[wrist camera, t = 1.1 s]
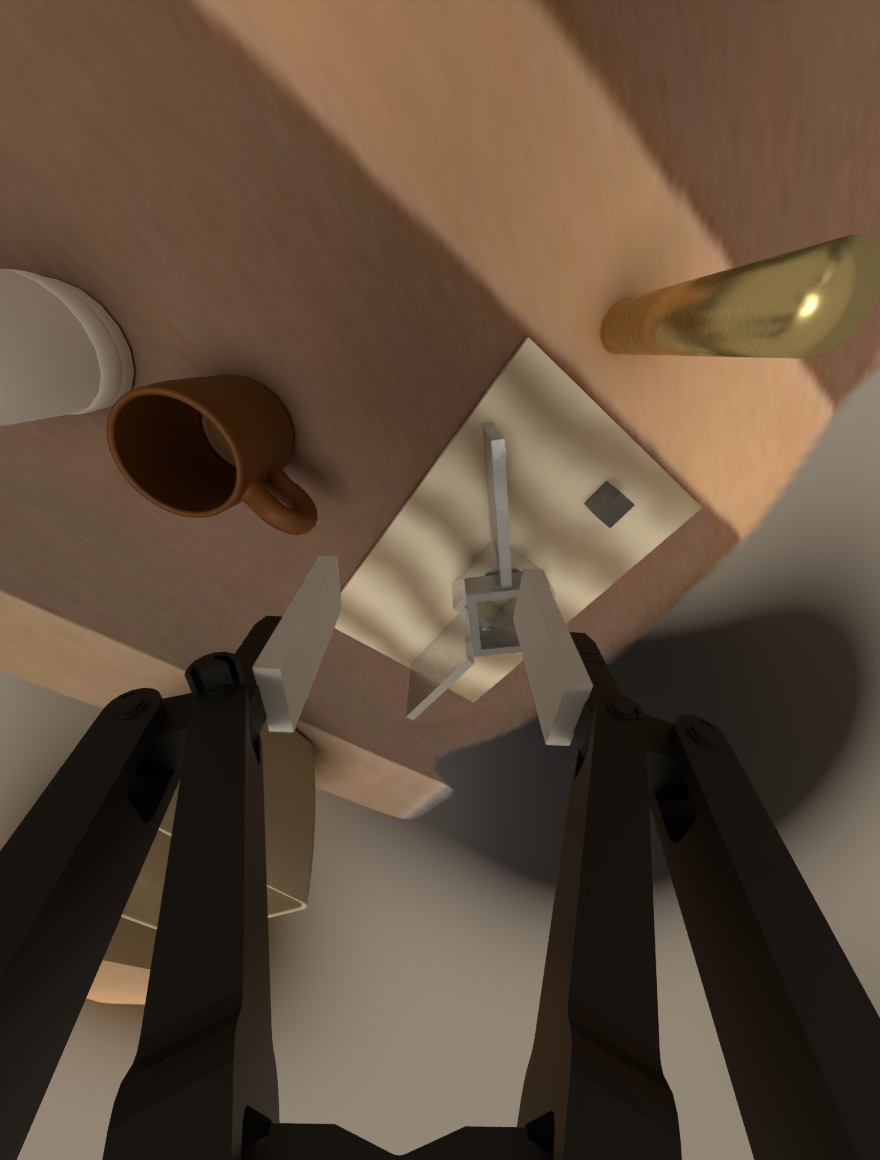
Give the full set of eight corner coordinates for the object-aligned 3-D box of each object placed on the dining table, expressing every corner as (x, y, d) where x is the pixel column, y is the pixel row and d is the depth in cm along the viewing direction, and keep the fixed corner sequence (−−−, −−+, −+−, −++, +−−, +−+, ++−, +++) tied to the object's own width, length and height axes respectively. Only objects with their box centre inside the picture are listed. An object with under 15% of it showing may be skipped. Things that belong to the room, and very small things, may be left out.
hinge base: (573, 450, 29) (606, 476, 23) (624, 497, 31) (668, 532, 25) (390, 651, 40) (381, 704, 34) (437, 677, 42) (436, 731, 36)
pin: (628, 286, 25) (859, 205, 11) (658, 321, 26) (904, 288, 12) (590, 332, 26) (755, 313, 12) (620, 364, 27) (803, 379, 13)
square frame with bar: (445, 429, 28) (446, 448, 23) (529, 416, 28) (551, 433, 22) (468, 610, 37) (473, 656, 31) (532, 603, 36) (549, 649, 31)
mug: (362, 459, 31) (334, 498, 23) (315, 525, 34) (275, 581, 26) (221, 348, 27) (125, 348, 19) (182, 435, 30) (85, 467, 22)
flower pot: (247, 789, 56) (179, 942, 41) (135, 716, 47) (1, 876, 33) (349, 749, 51) (312, 908, 36) (243, 659, 42) (141, 819, 28)
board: (525, 337, 26) (528, 337, 25) (695, 503, 32) (702, 507, 31) (323, 614, 39) (320, 620, 38) (473, 695, 45) (473, 702, 44)
